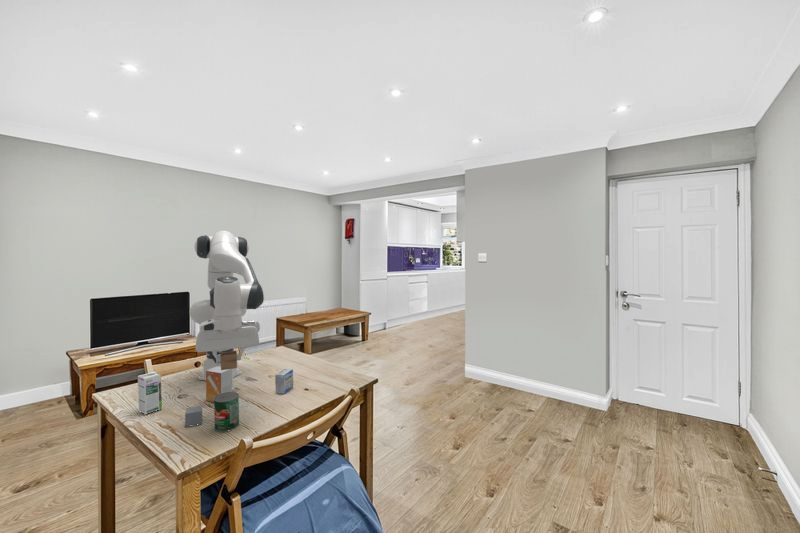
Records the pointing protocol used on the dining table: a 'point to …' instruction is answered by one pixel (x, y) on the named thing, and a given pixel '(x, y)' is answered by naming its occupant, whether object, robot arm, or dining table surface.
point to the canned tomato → (226, 411)
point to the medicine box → (284, 381)
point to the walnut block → (228, 360)
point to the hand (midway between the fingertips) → (228, 361)
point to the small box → (218, 382)
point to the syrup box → (149, 392)
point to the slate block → (193, 416)
